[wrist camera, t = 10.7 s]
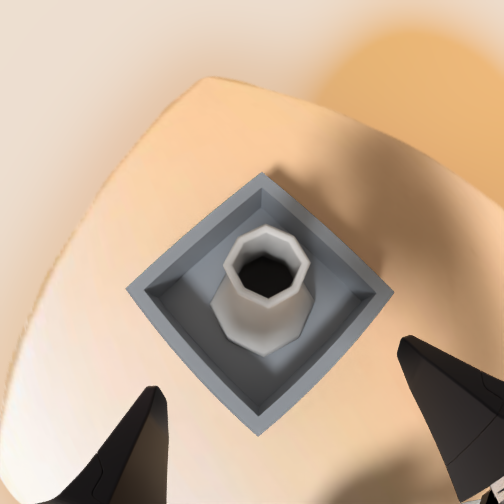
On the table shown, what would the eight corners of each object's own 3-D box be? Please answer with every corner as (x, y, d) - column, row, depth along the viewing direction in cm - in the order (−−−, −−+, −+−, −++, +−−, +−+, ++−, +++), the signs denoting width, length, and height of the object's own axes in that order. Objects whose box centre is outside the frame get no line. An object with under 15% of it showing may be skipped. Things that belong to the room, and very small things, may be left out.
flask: (264, 374, 18) (270, 399, 9) (193, 305, 20) (140, 265, 11) (330, 301, 20) (389, 259, 11) (260, 239, 22) (262, 157, 12)
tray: (257, 421, 18) (257, 436, 14) (146, 299, 21) (125, 288, 17) (372, 302, 21) (394, 292, 17) (261, 198, 24) (261, 171, 20)
